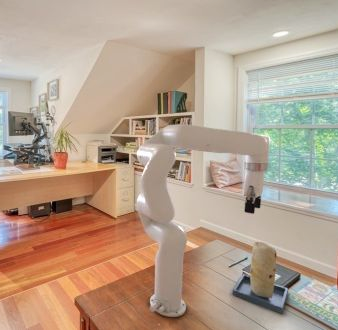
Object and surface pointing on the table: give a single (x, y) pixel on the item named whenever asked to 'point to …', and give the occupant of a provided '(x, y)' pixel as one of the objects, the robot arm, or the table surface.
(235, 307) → the table surface
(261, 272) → the food model
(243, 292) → the serving tray
